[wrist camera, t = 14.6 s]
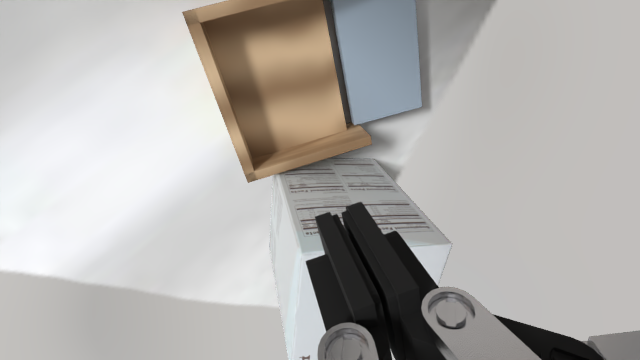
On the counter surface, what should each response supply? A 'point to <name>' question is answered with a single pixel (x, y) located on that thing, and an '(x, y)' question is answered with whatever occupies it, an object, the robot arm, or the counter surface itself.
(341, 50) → the panel
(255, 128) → the crate
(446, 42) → the counter surface
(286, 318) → the supplement box
